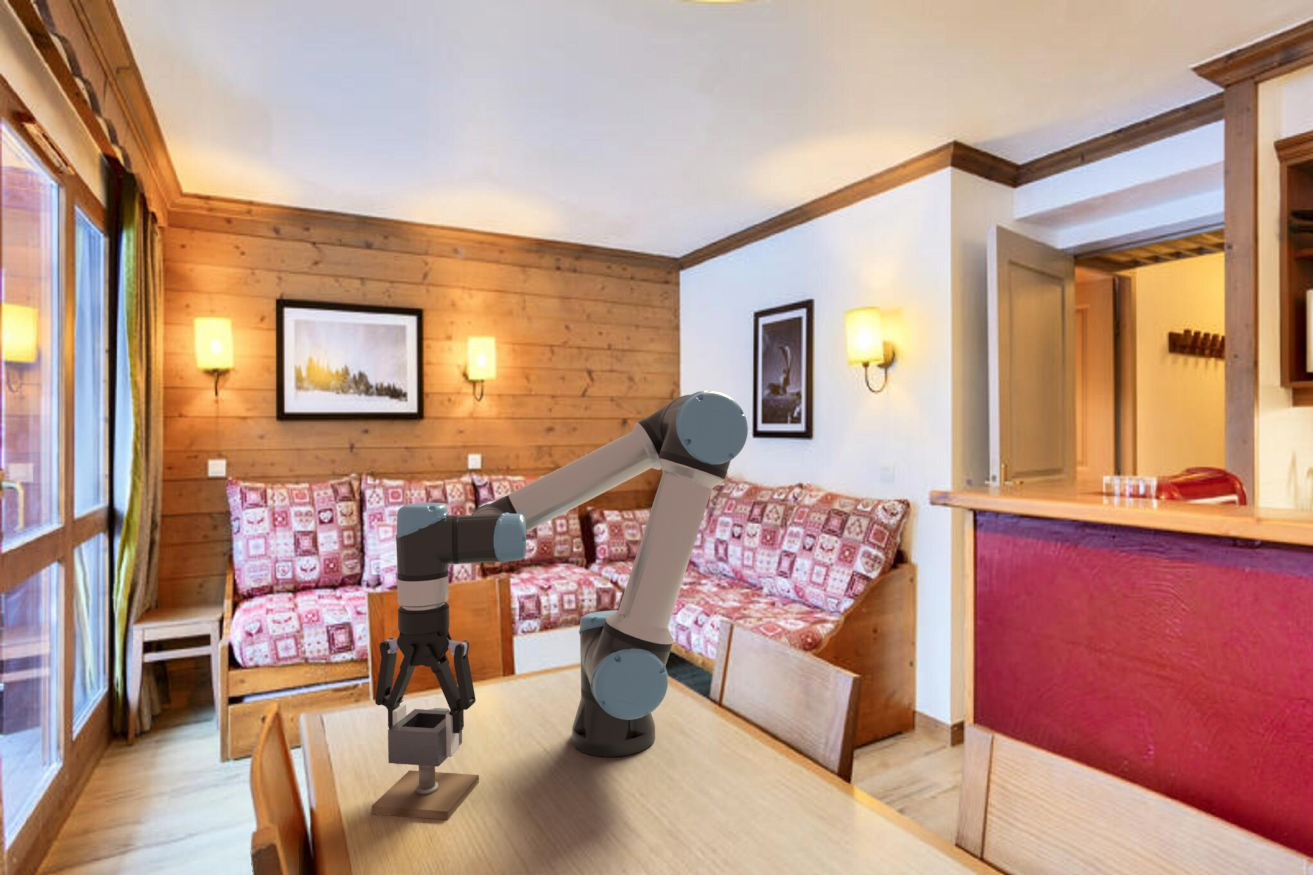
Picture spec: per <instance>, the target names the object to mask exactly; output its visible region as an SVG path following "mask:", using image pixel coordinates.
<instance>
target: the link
mask: <svg viewBox="0 0 1313 875" xmlns="http://www.w3.org/2000/svg"><path fill="white" fill-rule="evenodd" d="M448 712H449V711H442V710H429V709H423V708H422V709H421V708H420V709H418V708H415V709H412V711H410V712H409V713H408V714H406V716H405V717H404V718H403V719H401V720H400V721H399V722H398V723H396V724H395V725H394V726H392V727H391V728H390V729H389V728H388V729H387V743H388V744H387V748H388V749H387V750H388V752H387V754H388V764H395V765H410V766H411V765H412V766H419V765H423V766H435V767H440V766H441V765H442V763H444V762H445V761H446V760H447V759H448V758H449V757H447V748H446V713H448ZM462 743H463V730H462V731H461V732H460V733H459V746H461V745H462Z"/></svg>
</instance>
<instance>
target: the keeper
mask: <svg viewBox="0 0 1313 875" xmlns="http://www.w3.org/2000/svg"><path fill="white" fill-rule="evenodd" d="M479 783H480V777H479V774H471V773H455V772H439V771H436V766H423V765H418V770H408V771H407V772H406V773H405V774H404V775H403V776H402V777H400V779H398V780H397V781H396V782H395V783H394V784H393V785H392V786H390V788H388V790H387V791H386V792H384V793H383V795H381V797H379V798H378V799H377V800H376V801H375V802H374V803H372V805H371V815H383V816H396V817H407V818H408V817H409V818H420V819H421V818H422V819H423V818H424V819H434V820H449V819H450V818H451V816H453V814H454V813H455V812H456V810H457V809H458V808H459V807H460V806H461V804H463V802H464V801H465V800H466V799H467V797H468V796H469V795H470V794H471V793H472V791H473V790H474V789H475V787H477V785H478V784H479Z"/></svg>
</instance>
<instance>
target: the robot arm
mask: <svg viewBox="0 0 1313 875" xmlns="http://www.w3.org/2000/svg"><path fill="white" fill-rule="evenodd" d="M748 425H749V424H748V421H747V417H746V415H745V413H744V411H743V408H742V407H741V406H740V405H739V403H738V402H737V401H736V400H734V399H733V398H732V397H730V396H729V395H727V394H725V393H722V392H719V391H712V390H700V391H696V392H693V393H692V394H686V395H681V396H679V397H676V398H675V399H673V400H672V401H670V402H669V403H667V404H665V405H664V406H663V407H661V408H660V409H658V410H657V411H655V412H654V413H652V414H651V415H649V416H647V417H646V418H643V419H641V420H640V421H637V422H636V423H634V425H633V429H632V430H631V431H630V432H627V434H624V435H622V436H620V437H619V438H616V439H615V440H612V441H611V442H609V443H608V442H607V444H605V445H603V446H600V447H598V448H597V449H595V450H593V451H591V452H589V453H587V454H585V455H583V456H581V457H579V458H577V459H575V460H573V461H571V462H569V463H568V464H566V465H563V466H561V467H560V468H557V469H555V470H554V471H552V472H550V473H547V474H546V475H543V476H541V477H540V478H538V479H536V480H534V481H532V482H529V483H528V484H526V485H524V486H522V487H520V488H518V489H517V490H514V491H512V492H510V493H508V494H507V495H505V496H503V497H501V498H499V499H496V500H494V501H493V502H491V503H485V504H483V505H481V506H479V507H477V508H476V509H475V510H474V511H473V513H471V514H467V515H454V514H449V511H448V506H447V505H446V504H445V503H442V502H419V503H409V504H405V505H403V506H401V507H400V508H399V509H398V510H397V514H396V515H397V516H396V534H395V541H396V546H395V547H396V571H397V574H396V575H397V576H396V577H397V580H396V581H397V583H396V584H397V604H398V605H399V608H398V609H397V630H398V632H399V634H398V637H397V638H393V637H389V638H387V639H385V640H383V641H381V642H380V643H379V652H380V655H381V659H380V665H379V672H378V680H377V685H376V686H377V687H376V691H375V692H376V693H375V701H374V702H375V704H376V705H377V706H383V707H385V709H387V727H388V729H390V728H391V727H392V726H394V725H395V724H396V723H398V722H399V721H400V720H401V719H403V718H404V717H405V716H406V715H407V704H401V703H403V702H404V696H405V694H406V691H407V688H408V686H409V684H410V681H411V678H412V676H413V673H414V670H415V668H416V667H420V666H424V667H429V668H430V670H431V672H432V673H433V674H434V675H435V676H436V679H437V682H438V683H439V686H440V689H441V692H442V693H443V696H444V698H445V701H446V703H447V706H448V709H449V710H450V711H449V712H448V713H446V748H447V757H448V758H452V757H453V756H454V755H455V754H456V753H457V752H458V751H459V750H460V745H459V733H460V732H461V731H462V732H463V730H464V725H465V722H464V721H465V720H464V718H465V717H464V716H465V715H464V714H465V713H464V712H465V710H466V711H467V710H468V709H470V708H471V707H472V706H473V705H474V704H475V703H476V701H477V699H476V694H475V688H474V683H473V677H472V673H471V666H470V661H469V656H468V655H469V649H470V642H469V640H465V639H464V640H463V641H459V640H455V639H454V640H453V639H452V637H451V635H450V631H449V630H450V605H449V604H448V602H447V601H448V600H449V599H450V592H449V588H450V586H449V581H450V580H449V573H450V572H449V565H460V564H481V563H483V564H484V563H502V564H504V563H507V562H515V561H522V560H523V559H524V558H526V554H527V533H529V532H530V531H532V530H534V529H537V528H538V527H540V526H542V525H544V524H546V523H547V522H550V521H552V520H554V519H555V518H557V517H560V516H561V515H563V514H565V513H567V512H569V511H571V510H573V509H575V508H576V507H579V506H582V504H584V503H586V502H589V501H590V500H592V499H594V498H596V497H598V496H600V495H602V494H604V493H607V491H609V490H611V489H614V488H616V487H618V486H619V485H621V484H624V483H626V482H627V481H629V480H631V479H633V478H635V477H637V476H639V475H640V474H643V473H645V472H646V471H648V470H650V469H654V470H657V471H660V470H662V475H661V478H660V481H659V485H658V487H657V490H656V493H655V496H654V500H653V503H652V507H651V509H650V511H649V515H648V518H647V522H646V525H645V528H644V531H643V534H642V536H641V539H640V543H639V546H638V549H637V552H636V555H635V558H634V561H633V565H632V568H631V571H630V574H629V577H628V580H627V583H626V586H625V589H624V593H623V595H622V598H621V601H620V604H619V607H618V610H603V611H595V612H590V613H587V614H584V615H583V616H582V617H581V618H580V622H579V630H578V634H579V639H580V640H579V644H580V647H579V648H580V649H579V650H580V652H579V653H580V654H579V655H580V700H579V704H578V707H577V710H576V715H575V718H574V721H573V724H572V726H571V727H572V728H571V741H572V745H573V746H574V748H576V749H577V750H579V751H580V752H582V753H585V754H588V755H591V756H596V757H607V758H611V757H613V758H614V757H622V756H623V757H624V756H629V755H634V754H637V753H639V752H642V751H645V750H646V749H648V748H649V747H651V746H652V745H653V743H654V742H655V741H656V723H655V720H654V718H653V714H652V713H653V712H654V711H655V710H656V709H658V707H659V706H660V705H661V703H662V702H663V700H664V699H665V697H666V693H667V691H668V684H669V679H668V678H669V677H668V676H669V674H668V671H667V667H666V665H667V663H668V659H669V657H670V653H671V649H672V647H673V643H674V638H673V636H672V634H671V631H670V630H669V625H670V622H671V619H672V616H673V613H674V609H675V606H676V603H677V600H678V597H679V593H680V592H681V591H680V590H681V587H682V584H683V581H684V578H685V575H686V572H687V568H688V566H689V562H690V560H691V557H692V553H693V550H694V547H695V544H696V540H697V538H698V534H699V531H700V528H701V525H702V521H703V519H704V515H705V513H706V510H707V507H708V503H709V499H710V497H711V494H712V490H713V489H714V487H715V488H716V486H718V485H720V484H723V483H724V482H725V479H726V477H727V474H728V470H729V466H730V465H731V461H732V460H734V459H735V458H736V457H737V456H738V455H739V454H740V453H741V451H743V449H744V446H745V444H746V442H747V439H748V430H749V428H748V427H749V426H748ZM399 650H400V652H401V653H402V655H403V658H402V661H401V664H400V666H399V672H398V674H397V677H396V679H395V682H393V681H394V677H395V669H396V664H397V663H396V662H397V654H398V653H397V652H398V651H399ZM448 650H450V655H451V656H452V657H453V665H454V672H455V676H456V679H455V676H454V674H453V672H452V669H451V667H450V660H449V658H448V655H447V652H448ZM393 684H394V685H393ZM400 704H401V705H400Z"/></svg>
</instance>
